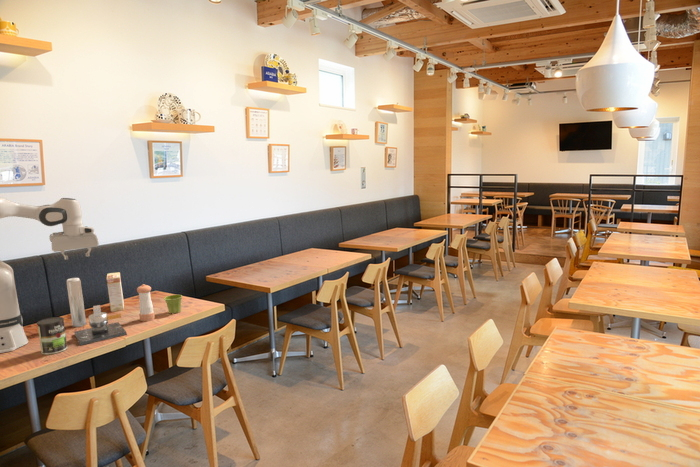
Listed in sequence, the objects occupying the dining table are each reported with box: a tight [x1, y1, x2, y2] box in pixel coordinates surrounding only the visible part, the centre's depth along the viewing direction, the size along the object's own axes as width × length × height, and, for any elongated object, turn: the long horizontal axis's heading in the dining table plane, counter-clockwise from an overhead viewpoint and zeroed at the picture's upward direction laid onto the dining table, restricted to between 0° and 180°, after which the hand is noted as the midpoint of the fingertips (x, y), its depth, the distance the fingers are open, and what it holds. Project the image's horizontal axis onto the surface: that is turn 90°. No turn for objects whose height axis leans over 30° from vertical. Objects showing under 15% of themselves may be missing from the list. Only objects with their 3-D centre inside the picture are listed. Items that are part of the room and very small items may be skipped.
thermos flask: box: [66, 277, 87, 328], centre depth 248 cm, size 6×6×25 cm
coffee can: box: [36, 316, 68, 356], centre depth 215 cm, size 10×10×14 cm
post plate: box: [74, 321, 128, 346], centre depth 234 cm, size 20×19×5 cm
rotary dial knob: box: [88, 304, 122, 328], centre depth 234 cm, size 14×10×9 cm
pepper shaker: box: [136, 283, 156, 322], centre depth 253 cm, size 7×7×19 cm
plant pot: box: [163, 294, 183, 314], centre depth 264 cm, size 9×9×9 cm
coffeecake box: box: [106, 271, 125, 313], centre depth 277 cm, size 15×7×20 cm, turn 25°
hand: (77, 257), depth 238 cm, fingers open, 8 cm apart
